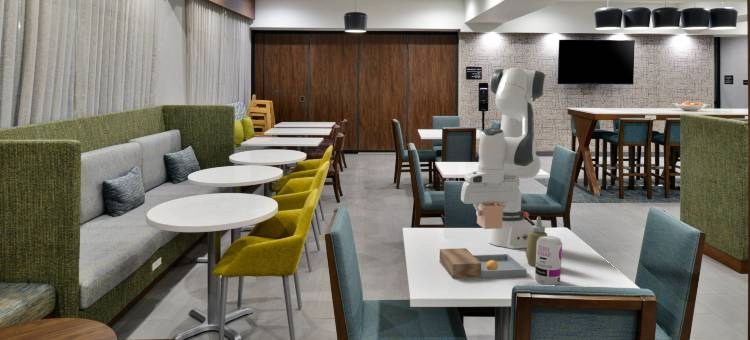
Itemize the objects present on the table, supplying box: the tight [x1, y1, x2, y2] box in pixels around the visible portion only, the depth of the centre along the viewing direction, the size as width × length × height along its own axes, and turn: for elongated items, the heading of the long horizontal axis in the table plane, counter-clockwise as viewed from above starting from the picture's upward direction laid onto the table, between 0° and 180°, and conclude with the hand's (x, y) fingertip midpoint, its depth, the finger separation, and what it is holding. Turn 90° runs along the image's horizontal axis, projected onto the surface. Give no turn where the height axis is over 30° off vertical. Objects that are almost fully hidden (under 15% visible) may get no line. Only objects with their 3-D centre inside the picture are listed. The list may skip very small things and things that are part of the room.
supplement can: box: [534, 235, 563, 286], centre depth 192 cm, size 8×8×15 cm
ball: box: [486, 260, 498, 270], centre depth 202 cm, size 4×4×4 cm
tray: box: [472, 253, 527, 279], centre depth 206 cm, size 16×18×2 cm
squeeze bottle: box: [525, 216, 548, 267], centre depth 210 cm, size 8×8×18 cm
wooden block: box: [439, 247, 481, 279], centre depth 205 cm, size 10×18×5 cm, turn 8°
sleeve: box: [476, 203, 503, 230], centre depth 199 cm, size 6×8×8 cm
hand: (489, 215), depth 199 cm, fingers closed on sleeve, 6 cm apart
